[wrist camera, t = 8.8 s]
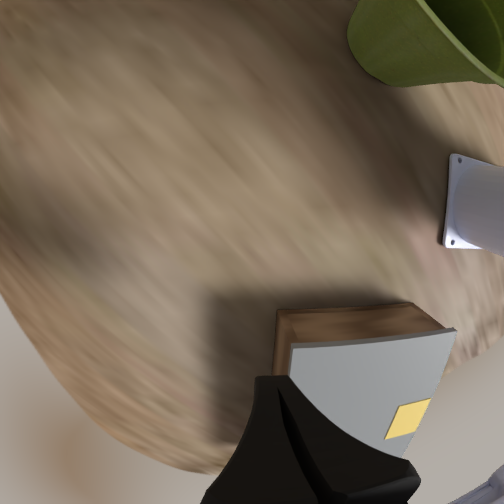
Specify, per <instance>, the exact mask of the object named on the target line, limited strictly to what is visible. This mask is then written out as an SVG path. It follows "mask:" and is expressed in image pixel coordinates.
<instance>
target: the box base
mask: <svg viewBox="0 0 504 504" xmlns="http://www.w3.org/2000/svg"><path fill="white" fill-rule="evenodd" d="M440 329H446V328H445V327H444V326H442V325H441V324H440V323H438V322H437V321H436V320H435V319H433V318H432V317H431V316H429V315H428V314H427V313H426V312H424V311H423V310H422V309H420V308H419V307H418V306H416V305H415V304H414V303H403V304H390V305H376V306H360V307H342V308H319V309H286V310H277V316H276V329H275V342H274V354H273V366H272V376H275V375H288V367H289V359H290V350H291V343H311V342H329V341H343V340H356V339H367V338H377V337H387V336H396V335H404V334H412V333H420V332H427V331H433V330H440Z"/></svg>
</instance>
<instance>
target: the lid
mask: <svg viewBox="0 0 504 504" xmlns="http://www.w3.org/2000/svg"><path fill="white" fill-rule="evenodd" d="M456 334H457V330H456V329H454V328H453V327H452V328H446V329H440V330H433V331H427V332H420V333H412V334H404V335H396V336H387V337H377V338H367V339H356V340H343V341H329V342H311V343H291V350H290V359H289V367H288V376H289V377H290V378H291V379H292V380H293V382H294V383H295V384H296V386H297V387H298V388H299V389H300V390H301V392H302V393H303V394H304V395H305V396H306V397H307V398H308V399H309V401H310V402H311V403H312V404H313V405H314V406H315V407H316V408H317V409H318V410H319V411H320V412H321V413H322V414H324V415H325V416H326V417H327V418H328V419H329V420H330V421H332V422H333V423H334V424H335V425H337V426H338V427H339V428H341V429H342V430H343V431H345V432H346V433H348V434H349V435H351V436H352V437H354V438H356V439H358V440H360V441H361V442H363V443H365V444H367V445H369V446H371V447H373V448H375V449H377V450H380V451H382V452H384V453H387V454H390V455H393V456H396V457H399V458H401V457H402V455H403V454H404V452H405V450H406V449H407V447H408V445H409V443H410V442H411V440H412V438H413V436H414V434H415V432H416V430H417V428H418V426H419V425H420V423H421V421H422V419H423V416H424V414H425V412H426V410H427V408H428V406H429V404H430V401H431V399H432V397H433V395H434V392H435V390H436V388H437V385H438V383H439V381H440V378H441V376H442V373H443V371H444V368H445V366H446V363H447V360H448V357H449V355H450V352H451V349H452V346H453V343H454V340H455V337H456Z"/></svg>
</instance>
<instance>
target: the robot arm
mask: <svg viewBox="0 0 504 504" xmlns="http://www.w3.org/2000/svg"><path fill="white" fill-rule="evenodd" d="M458 159H459V162H458ZM451 241H452V243H451ZM443 246H444V247H446V248H465V249H485V250H488V251H490V252H493V253H495V254H498V255H500V256H503V257H504V167H502V166H495V165H492V164H489V163H486V162H482V161H479V160H476V159H473V158H469V157H466V156H463V155H459V154H451V155H450V162H449V184H448V198H447V209H446V218H445V227H444V235H443ZM420 483H421V478H420V477H419V475H418V473H417V471H416V470H415V468H414V467H413V465H412V464H411V463H410V461H409V460H406V459H402V458H399V457H396V456H393V455H390V454H387V453H384V452H382V451H380V450H377V449H375V448H373V447H371V446H369V445H367V444H365V443H363V442H361V441H360V440H358V439H356V438H354V437H352V436H351V435H349V434H348V433H346V432H345V431H343V430H342V429H341V428H339V427H338V426H337V425H335V424H334V423H333V422H332V421H330V420H329V419H328V418H327V417H326V416H325V415H324V414H322V413H321V412H320V411H319V410H318V409H317V408H316V407H315V406H314V405H313V404H312V403H311V402H310V401H309V399H308V398H307V397H306V396H305V395H304V394H303V393H302V392H301V390H300V389H299V388H298V387H297V386H296V384H295V383H294V382H293V380H292V379H291V378H290V377H289V376H288V375H275V376H257V377H256V378H255V386H254V403H253V408H252V412H251V415H250V418H249V421H248V424H247V426H246V429H245V431H244V434H243V436H242V438H241V440H240V442H239V444H238V446H237V448H236V450H235V452H234V454H233V455H232V457H231V459H230V460H229V462H228V463H227V465H226V466H225V468H224V469H223V470H222V472H221V473H220V475H219V476H218V477H217V478H216V480H215V481H214V482H213V483H212V484H211V486H210V487H209V488H208V489H207V490H206V492H205V495H204V497H203V499H202V501H201V503H200V504H408V503H407V501H408V500H409V499H410V497H411V496H412V495H413V494H414V493H415V491H416V490H417V489H418V487H419V485H420ZM448 504H504V465H502V466H501V467H500V468H499V469H497V470H496V471H495V472H494V473H493V474H492V476H491V477H490V478H489V479H488V481H486V482H485V483H483V484H482V485H480V486H478V487H477V488H475V489H474V490H472V491H470V492H469V493H467V494H465V495H463V496H461V497H460V498H458V499H456V500H454V501H452V502H450V503H448Z"/></svg>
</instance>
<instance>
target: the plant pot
mask: <svg viewBox="0 0 504 504" xmlns="http://www.w3.org/2000/svg"><path fill="white" fill-rule="evenodd" d="M347 40H348V44H349V47H350V49H351V52H352V54H353V55H354V57H355V59H356V60H357V61H358V63H359V64H360V65H361V66H362V67H363V69H364V70H365V71H366V72H368V73H369V74H370V75H372V76H374V77H376V78H378V79H379V80H381V81H382V82H384V83H385V84H387V85H390V86H394V87H411V86H419V85H428V84H437V83H449V82H464V81H473V82H477V83H482V84H497V85H499V86H500V87H502V88H504V0H359V2H358V4H357V6H356V8H355V10H354V12H353V14H352V16H351V19H350V21H349V24H348V28H347Z"/></svg>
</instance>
